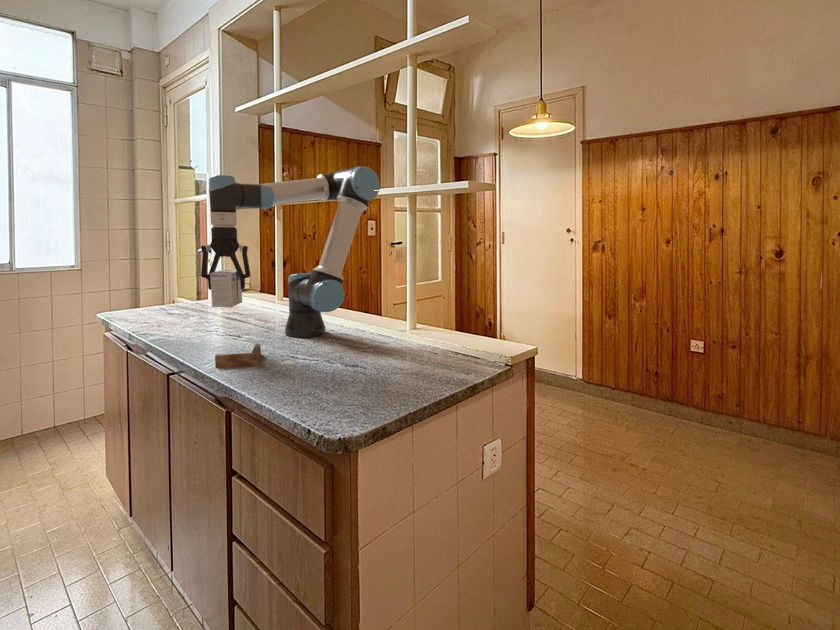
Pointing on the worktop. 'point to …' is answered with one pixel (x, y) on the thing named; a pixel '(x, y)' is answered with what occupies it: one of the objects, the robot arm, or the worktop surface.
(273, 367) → the worktop surface
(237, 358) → the walnut corner fence
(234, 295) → the light bulb box
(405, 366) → the worktop surface
